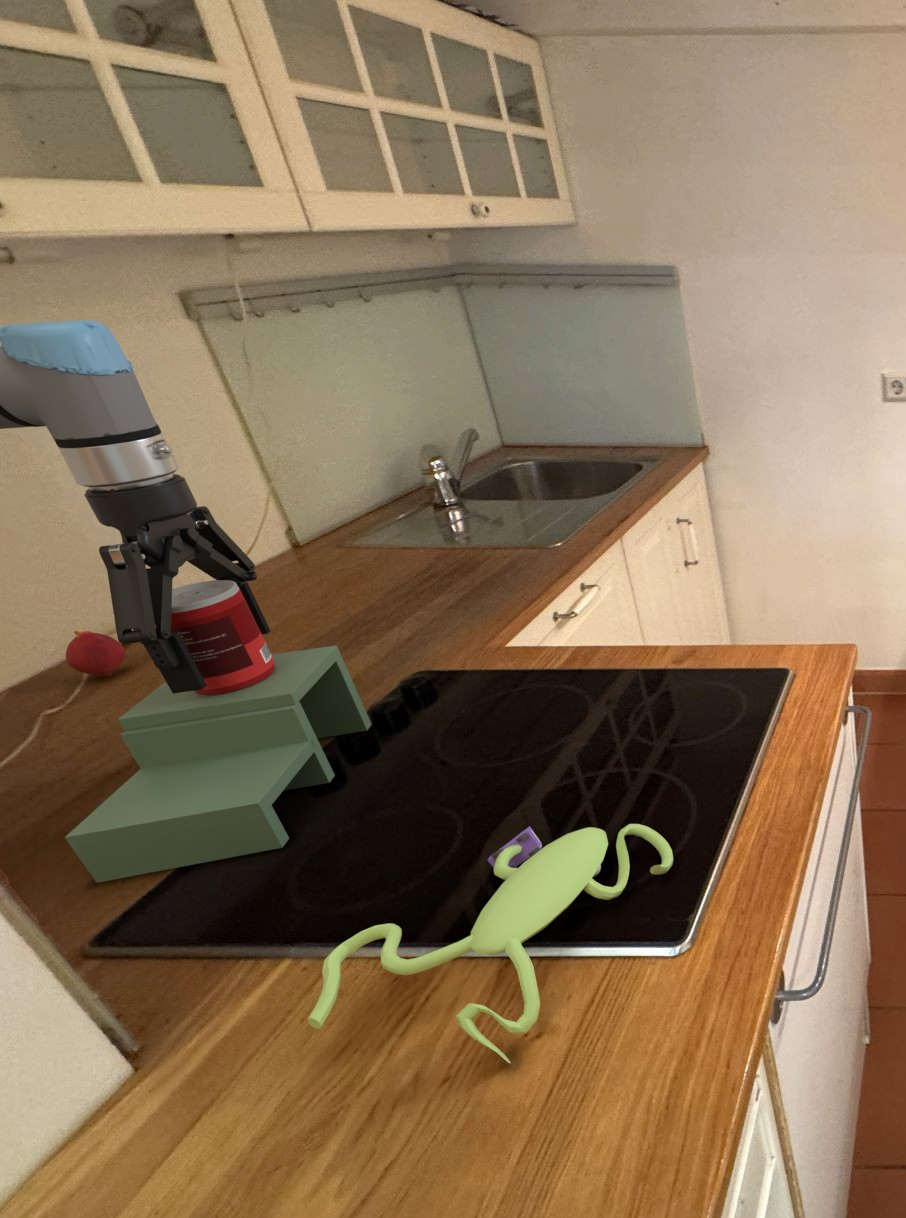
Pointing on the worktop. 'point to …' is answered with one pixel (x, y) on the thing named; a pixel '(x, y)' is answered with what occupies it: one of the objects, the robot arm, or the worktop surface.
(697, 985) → the worktop surface
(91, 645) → the onion
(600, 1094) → the worktop surface
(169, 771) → the step rack
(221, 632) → the canned food
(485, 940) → the figurine
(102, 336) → the robot arm
